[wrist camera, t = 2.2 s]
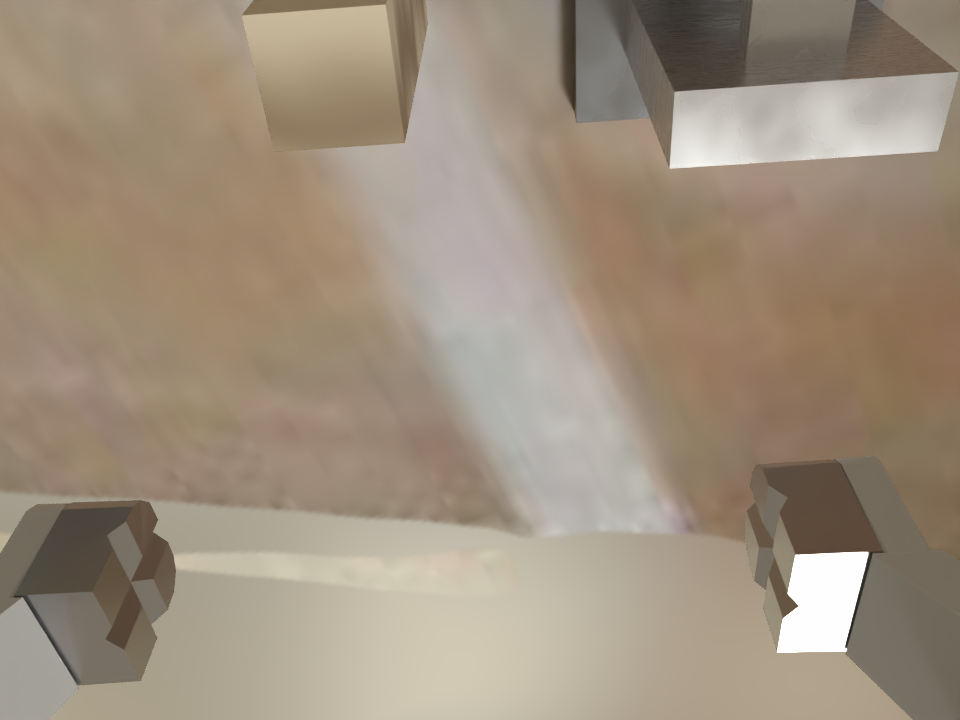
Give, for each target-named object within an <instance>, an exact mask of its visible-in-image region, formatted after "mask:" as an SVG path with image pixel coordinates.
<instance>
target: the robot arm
mask: <svg viewBox="0 0 960 720" xmlns="http://www.w3.org/2000/svg"><path fill="white" fill-rule="evenodd" d="M750 488H751V490H752V493H753V496H754V499H755V503H754V504H753V505H752V506H751V507H750V508H749V509H748V510H747V514H746V524H745V538H746V551H747V555H748V560H749V565H750V568H751V572H752V575H753V578H754V581H755V582H757V583H758V584H759V585H760V586H762V587H763V588H764V589H765V590H766V593H765V600H764V607H763V610H764V613H765V616H766V619H767V622H768V625H769V628H770V631H771V634H772V637H773V640H774V643H775V646H776V649H777V652H809V651H810V652H813V651H846V655H847V656H848V657H849V658H850V659H851V660H852V661H853V662H854V663H855V664H856V665H857V666H858V667H859V668H860V669H861V670H862V671H863V672H864V673H865V674H867V675H868V676H869V677H870V678H871V679H872V680H873V681H874V682H875V683H876V684H877V685H878V686H879V687H880V688H881V689H882V690H883V691H884V692H885V693H886V694H887V695H888V696H889V697H890V698H891V699H892V700H893V701H894V702H895V703H896V704H897V705H899V706H900V708H901V709H902V710H904V711H905V712H906V713H907V714H908V715H909V716H910V717H911V718H912V719H913V720H960V561H959V560H958V559H956V558H954V557H953V556H951V555H950V554H948V553H947V552H945V551H944V550H930V548H929V546H928V545H927V543H926V541H925V539H924V537H923V536H922V534H921V532H920V530H919V529H918V527H917V525H916V523H915V521H914V520H913V518H912V516H911V514H910V513H909V511H908V509H907V507H906V505H905V504H904V502H903V500H902V498H901V497H900V495H899V493H898V491H897V489H896V488H895V486H894V484H893V482H892V481H891V479H890V477H889V475H888V473H887V472H886V470H885V468H884V466H883V465H882V463H881V461H880V460H878V459H877V458H875V457H874V456H869V457H855V458H841V459H834V460H815V461H800V462H785V463H770V464H756V465H755V467H754V469H753V472H752V477H751V484H750ZM157 521H158V519H157V517H156V515H155V513H154V511H153V509H152V507H151V505H150V503H149V502H145V501H141V500H134V501H104V502H74V503H70V504H37V505H35V506H34V507H32V508H31V509H29V510H28V511H26V513H25V514H24V516H23V517H22V519H21V521H20V522H19V524H18V526H17V527H16V529H15V530H14V532H13V534H12V535H11V537H10V538H9V540H8V542H7V543H6V545H5V547H4V548H3V550H2V551H1V553H0V720H50V719H51V717H52V716H54V714H55V713H56V712H57V711H58V710H59V709H60V708H61V707H62V706H63V705H64V704H65V703H66V702H67V701H68V700H69V699H70V698H71V697H72V696H73V695H74V693H75V692H76V691H77V690H78V689H79V687H78V686H77V685H90V684H104V683H116V682H131V681H141V679H142V676H143V674H144V671H145V669H146V666H147V663H148V661H149V658H150V655H151V653H152V650H153V648H154V645H155V642H156V640H157V636H156V634H155V632H154V630H153V628H152V625H151V624H152V623H153V622H155V621H156V620H157V619H158V618H159V617H160V616H161V615H162V614H164V613H165V612H166V611H167V610H168V607H169V604H170V602H171V598H172V596H173V593H174V585H175V575H176V568H175V563H174V557H173V553H172V551H171V548H170V546H169V544H168V542H167V541H165V540H164V539H162V538H161V537H159V536H158V535H157V534H155V533H153V530H154V528H155V526H156V523H157Z"/></svg>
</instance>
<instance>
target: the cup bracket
mask: <svg viewBox="0 0 960 720" xmlns="http://www.w3.org/2000/svg"><path fill="white" fill-rule="evenodd" d="M883 2H884V0H573V13H574V113H575V118H576V123H583V122H598V121H612V120H627V119H641V118H650V119H651V122H652V124H653V127H654V129H655V132H656V135H657V137H658V140H659V142H660V145H661V148H662V150H663V153H664V155H665V158H666V161H667V163H668V166H669V168H670V169H672V168H687V167H702V166H718V165H733V164H748V163H764V162H779V161H794V160H809V159H825V158H840V157H855V156H871V155H886V154H901V153H917V152H932V151H938V148H939V144H940V141H941V137H942V133H943V129H944V126H945V122H946V118H947V115H948V111H949V107H950V103H951V100H952V96H953V92H954V89H955V85H956V81H957V77H958V74H959V71H957V70H956V69H955V68H954V67H952V66H951V65H950V64H949V63H947V62H946V61H945V60H943V59H942V58H941V57H940V56H938V55H937V54H936V53H935V52H933V51H932V50H931V49H929V48H928V47H927V46H926V45H924V44H923V43H922V42H921V41H919V40H918V39H917V38H915V37H914V36H913V35H912V34H910V33H909V32H908V31H907V30H905V29H904V28H903V27H902V26H900V25H899V24H898V23H896V22H895V21H894V20H893V19H891V18H890V17H889V16H888V15H886V14H885V13H884V12H882V7H883Z"/></svg>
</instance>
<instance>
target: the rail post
mask: <svg viewBox="0 0 960 720" xmlns="http://www.w3.org/2000/svg"><path fill="white" fill-rule="evenodd" d="M242 19H243V23H244V27H245V32H246V36H247V40H248V44H249V48H250V53H251V57H252V61H253V65H254V69H255V74H256V78H257V82H258V86H259V90H260V94H261V99H262V103H263V107H264V111H265V115H266V120H267V124H268V128H269V132H270V136H271V141H272V145H273V149H274V152H279V151H293V150H308V149H323V148H338V147H352V146H367V145H382V144H396V143H405V138H406V133H407V128H408V123H409V118H410V113H411V108H412V103H413V97H414V92H415V87H416V82H417V77H418V72H419V67H420V62H421V56H422V51H423V46H424V41H425V36H426V31H427V26H428V21H427V11H426V2H425V0H254V1H253V2H252V3H251V4H250V6H249V7H248V8H247V10H246V11H245V12H244V13H243V15H242Z"/></svg>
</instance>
